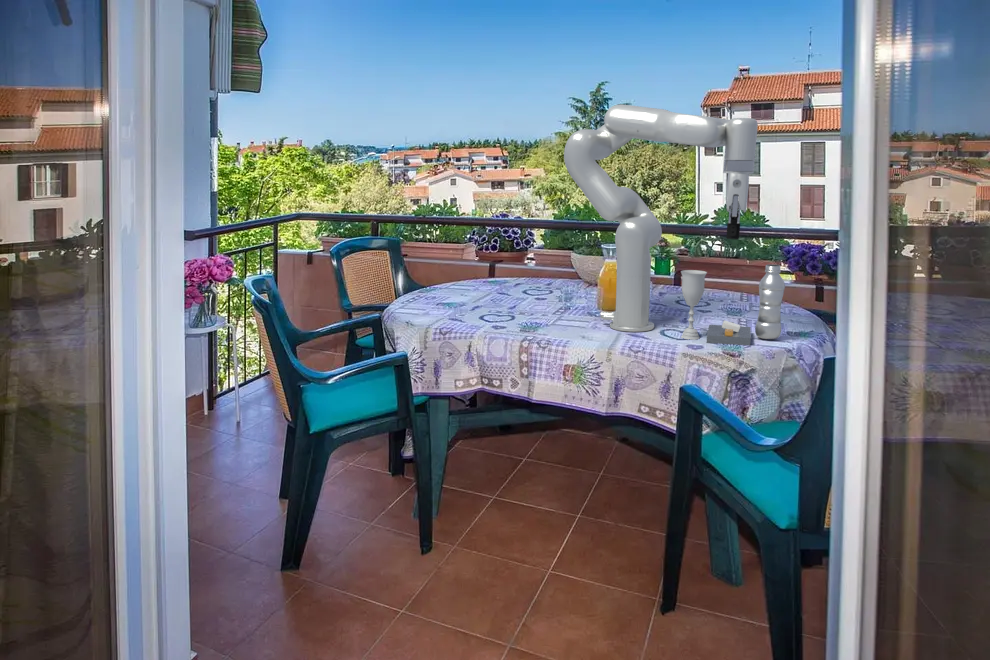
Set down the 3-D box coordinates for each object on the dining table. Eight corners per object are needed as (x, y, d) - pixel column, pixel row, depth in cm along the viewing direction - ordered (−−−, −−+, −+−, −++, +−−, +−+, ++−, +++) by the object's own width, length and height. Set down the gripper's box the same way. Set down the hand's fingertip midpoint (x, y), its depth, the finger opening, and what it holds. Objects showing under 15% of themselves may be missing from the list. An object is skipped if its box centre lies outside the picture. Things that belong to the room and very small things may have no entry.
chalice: (708, 339, 205) (712, 273, 201) (684, 341, 204) (688, 274, 200) (695, 333, 212) (699, 269, 208) (672, 335, 210) (675, 270, 207)
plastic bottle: (759, 335, 210) (764, 262, 206) (784, 338, 206) (790, 265, 201) (750, 339, 205) (755, 265, 201) (776, 342, 201) (781, 267, 196)
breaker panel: (706, 342, 202) (707, 330, 201) (709, 331, 215) (709, 320, 214) (750, 345, 198) (751, 333, 198) (750, 333, 211) (750, 322, 211)
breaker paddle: (721, 327, 205) (723, 322, 205) (722, 324, 208) (723, 320, 207) (738, 332, 204) (739, 327, 203) (738, 329, 207) (739, 325, 206)
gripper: (754, 168, 189) (747, 242, 193) (753, 167, 203) (747, 236, 207) (722, 167, 191) (716, 241, 195) (724, 166, 205) (718, 235, 209)
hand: (732, 238), depth 201 cm, fingers closed
